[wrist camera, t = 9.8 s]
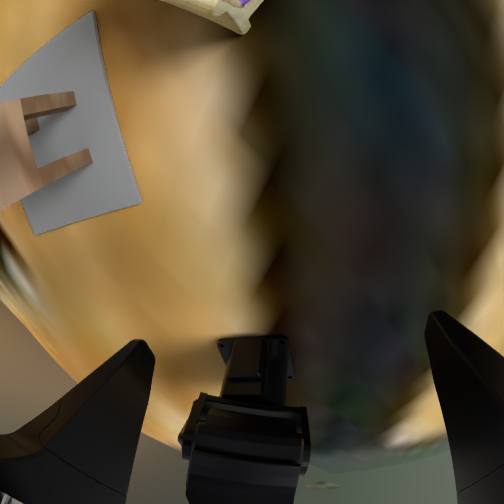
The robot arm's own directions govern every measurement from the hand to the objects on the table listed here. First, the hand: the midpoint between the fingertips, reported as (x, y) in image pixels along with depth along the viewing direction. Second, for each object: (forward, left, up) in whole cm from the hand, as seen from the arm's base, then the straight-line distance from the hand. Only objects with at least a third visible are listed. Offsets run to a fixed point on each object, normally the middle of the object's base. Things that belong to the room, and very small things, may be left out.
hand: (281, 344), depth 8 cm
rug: (+10, +17, -12) cm, 23 cm away
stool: (+9, +16, -12) cm, 22 cm away
